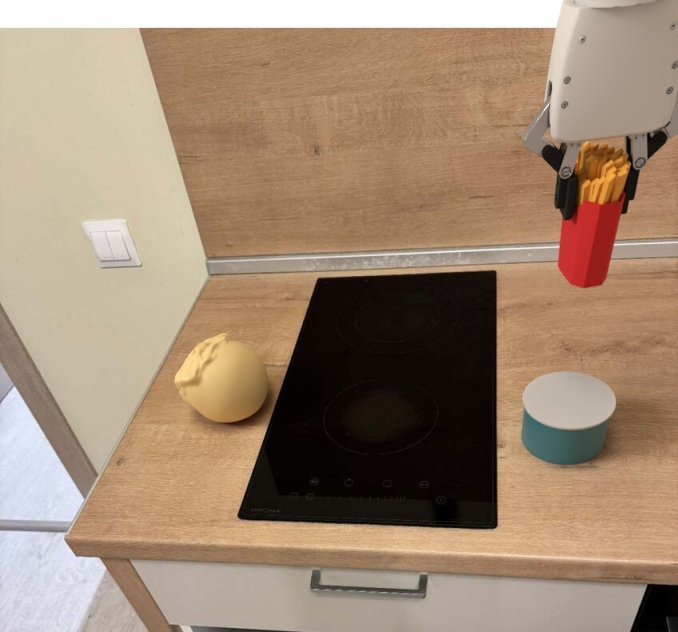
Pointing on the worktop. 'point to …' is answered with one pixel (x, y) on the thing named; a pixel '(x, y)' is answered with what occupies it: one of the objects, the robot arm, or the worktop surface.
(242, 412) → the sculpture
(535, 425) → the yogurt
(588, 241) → the french fries
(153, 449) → the worktop surface
